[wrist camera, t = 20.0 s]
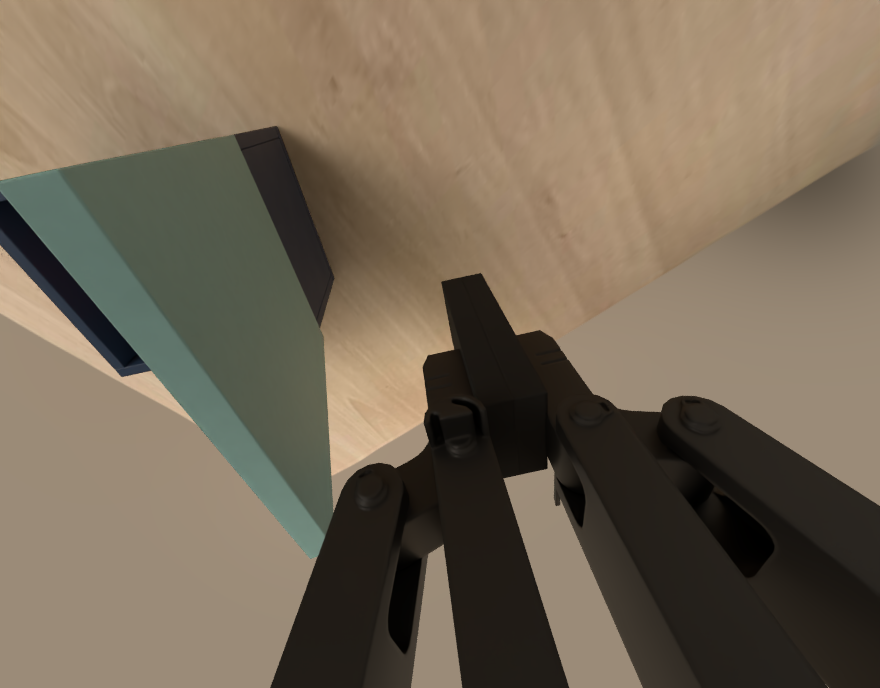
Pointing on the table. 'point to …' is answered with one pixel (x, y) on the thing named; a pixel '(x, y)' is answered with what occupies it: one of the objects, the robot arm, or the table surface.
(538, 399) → the robot arm
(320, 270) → the chest
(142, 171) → the chest lid
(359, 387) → the table surface
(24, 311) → the table surface
